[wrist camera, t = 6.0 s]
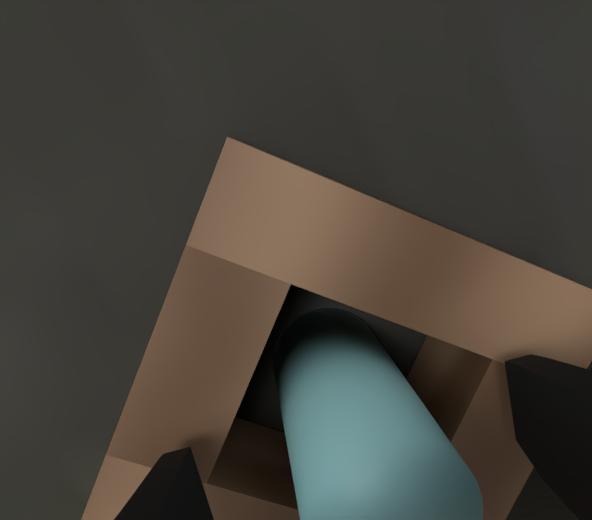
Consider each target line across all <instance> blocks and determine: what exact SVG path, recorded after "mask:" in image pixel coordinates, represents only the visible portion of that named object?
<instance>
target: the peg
mask: <svg viewBox="0 0 592 520" xmlns="http://www.w3.org/2000/svg"><path fill="white" fill-rule="evenodd" d="M273 369H274V374H275V380H276V386H277V391H278V397H279V403H280V408H281V414H282V419H283V425H284V431H285V436H286V442H287V448H288V453H289V459H290V465H291V470H292V476H293V482H294V487H295V493H296V499H297V504H298V510H299V516H300V520H483V500H482V495H481V491H480V488H479V485H478V483H477V480H476V479H475V477H474V475H473V474H472V472H471V470H470V469H469V468H468V466H467V465H466V463H465V462H464V461H463V459H462V458H461V456H460V455H459V454H458V452H457V451H456V449H455V448H454V446H453V445H452V444H451V442H450V441H449V439H448V438H447V437H446V435H445V434H444V432H443V431H442V429H441V428H440V427H439V425H438V424H437V422H436V421H435V420H434V418H433V417H432V415H431V414H430V413H429V411H428V410H427V408H426V407H425V405H424V404H423V403H422V401H421V400H420V398H419V397H418V396H417V394H416V393H415V391H414V390H413V388H412V387H411V386H410V384H409V383H408V381H407V380H406V379H405V377H404V376H403V374H402V373H401V372H400V370H399V369H398V367H397V366H396V364H395V363H394V362H393V360H392V359H391V357H390V356H389V355H388V353H387V352H386V350H385V349H384V347H383V346H382V345H381V343H380V342H379V340H378V339H377V338H376V336H375V335H374V333H373V332H372V331H371V329H370V328H369V327H368V325H367V324H366V323H365V322H364V321H363V320H362V319H360V318H359V317H357V316H356V315H354V314H352V313H350V312H347V311H344V310H340V309H333V308H325V309H318V310H313V311H310V312H307V313H305V314H303V315H301V316H300V317H298V318H296V319H295V320H294V321H292V322H291V323H290V324H289V325H288V326H287V327H286V328H285V329H284V331H283V332H282V334H281V335H280V337H279V339H278V341H277V343H276V346H275V349H274V353H273Z"/></svg>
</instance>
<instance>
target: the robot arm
mask: <svg viewBox="0 0 592 520" xmlns="http://www.w3.org/2000/svg"><path fill="white" fill-rule="evenodd" d="M504 362H505V369H506V375H507V382H508V389H509V396H510V403H511V410H512V417H513V424H514V431H515V438H516V441H517V442H518V444H519V445H520V447H521V448H522V450H523V451H524V453H525V454H526V456H527V457H528V459H529V460H530V462H531V463H532V465H533V466H534V467H535V469H536V470H537V472H538V473H539V474H540V476H541V477H542V478H543V479H544V481H545V482H546V483H547V484H548V485H549V486H550V487H551V488H552V490H553V491H554V492H555V493H556V494H557V495H558V496H559V497H560V498H561V500H562V501H563V502H564V503H565V504H566V505H567V506H568V507H569V508H570V510H571V511H572V512H573V513H574V514H575V515H576V516H577V517H578V518H579V519H580V520H592V370H588V369H585V368H582V367H578V366H575V365H571V364H568V363H564V362H561V361H557V360H554V359H550V358H546V357H542V356H537V355H532V354H529V355H526V356H522V357H518V358H515V359H511V360H507V361H504ZM114 520H214V519H213V516H212V512H211V509H210V506H209V503H208V500H207V497H206V494H205V491H204V487H203V484H202V481H201V478H200V475H199V472H198V469H197V466H196V462H195V459H194V456H193V453H192V450H191V447H187V448H183V449H179V450H176V451H172V452H168V453H165V454H163V455H162V456H161V457H160V458H159V459H158V461H157V462H156V463H155V465H154V466H153V467H152V469H151V470H150V472H149V473H148V474H147V476H146V477H145V479H144V480H143V481H142V483H141V484H140V485H139V487H138V488H137V490H136V491H135V492H134V494H133V495H132V496H131V498H130V499H129V500H128V502H127V503H126V504H125V506H124V507H123V508H122V510H121V511H120V512H119V514H118V515H117V516H116V518H115V519H114Z"/></svg>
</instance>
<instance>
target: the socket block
mask: <svg viewBox="0 0 592 520" xmlns="http://www.w3.org/2000/svg"><path fill="white" fill-rule="evenodd" d="M291 284H292V285H295V286H297V287H300V288H303V289H305V290H308V291H311V292H313V293H316V294H319V295H322V296H324V297H327V298H330V299H332V300H335V301H338V302H340V303H343V304H346V305H348V306H351V307H354V308H356V309H359V310H362V311H364V312H367V313H370V314H373V315H375V316H378V317H381V318H383V319H386V320H389V321H391V322H394V323H397V324H399V325H402V326H405V327H407V328H410V329H413V330H415V331H418V332H421V333H423V334H426V335H427V336H426V338H425V340H424V343H423V345H422V347H421V349H420V351H419V353H418V355H417V357H416V359H415V361H414V363H413V366H412V368H411V370H410V372H409V374H408V376H407V378H406V380H407V381H408V383H409V384H410V386H411V387H412V388H413V390H414V391H415V393H416V394H417V396H418V397H419V398H420V400H421V401H422V403H423V404H424V405H425V407H426V408H427V410H428V411H429V413H430V414H431V415H432V417H433V418H434V420H435V421H436V422H437V424H438V425H439V427H440V428H441V429H442V431H443V432H444V434H445V435H446V437H447V438H448V439H449V441H450V442H451V444H452V445H453V446H454V448H455V449H456V451H457V452H458V454H459V455H460V456H461V458H462V459H463V461H464V462H465V463H466V465H467V466H468V468H469V469H470V470H471V472H472V474H473V475H474V477H475V479H476V480H477V483H478V485H479V488H480V491H481V495H482V500H483V520H506V518H507V516H508V514H509V512H510V510H511V509H512V507H513V505H514V503H515V501H516V499H517V498H518V496H519V494H520V492H521V490H522V488H523V486H524V485H525V483H526V481H527V479H528V477H529V475H530V474H531V472H532V470H533V468H534V466H533V465H532V463H531V462H530V460H529V459H528V457H527V456H526V454H525V453H524V451H523V450H522V448H521V447H520V445H519V444H518V442H517V441H516V438H515V431H514V424H513V417H512V410H511V403H510V396H509V389H508V382H507V375H506V369H505V362H504V361H507V360H511V359H515V358H518V357H522V356H526V355H529V354H532V355H537V356H542V357H546V358H550V359H554V360H557V361H561V362H564V363H568V364H571V365H575V366H578V367H582V368H585V369H587V368H588V366H589V365H590V363H591V361H592V289H590V288H588V287H586V286H583V285H581V284H579V283H577V282H574V281H572V280H570V279H567V278H565V277H563V276H560V275H558V274H556V273H553V272H551V271H549V270H546V269H544V268H542V267H539V266H537V265H535V264H532V263H530V262H528V261H525V260H523V259H520V258H518V257H516V256H513V255H511V254H508V253H506V252H504V251H501V250H499V249H497V248H494V247H492V246H489V245H487V244H485V243H482V242H480V241H478V240H475V239H473V238H470V237H468V236H466V235H463V234H461V233H458V232H456V231H454V230H451V229H449V228H447V227H444V226H442V225H439V224H437V223H435V222H432V221H430V220H427V219H425V218H423V217H420V216H418V215H416V214H413V213H411V212H408V211H406V210H404V209H401V208H399V207H397V206H394V205H392V204H389V203H387V202H385V201H382V200H380V199H377V198H375V197H373V196H370V195H368V194H366V193H363V192H361V191H358V190H356V189H354V188H351V187H349V186H346V185H344V184H342V183H339V182H337V181H335V180H332V179H330V178H327V177H325V176H323V175H320V174H318V173H315V172H313V171H311V170H308V169H306V168H304V167H301V166H299V165H296V164H294V163H292V162H289V161H287V160H285V159H282V158H280V157H277V156H275V155H273V154H270V153H268V152H265V151H263V150H261V149H258V148H256V147H254V146H251V145H249V144H246V143H244V142H242V141H239V140H237V139H234V138H232V137H230V136H228V137H227V139H226V141H225V144H224V147H223V149H222V152H221V155H220V157H219V160H218V162H217V165H216V168H215V170H214V173H213V175H212V178H211V181H210V183H209V186H208V189H207V191H206V194H205V196H204V199H203V202H202V204H201V207H200V210H199V212H198V215H197V217H196V220H195V223H194V225H193V228H192V231H191V233H190V236H189V238H188V241H187V244H186V246H185V249H184V252H183V254H182V257H181V259H180V262H179V265H178V267H177V270H176V273H175V275H174V278H173V280H172V283H171V286H170V288H169V291H168V293H167V296H166V299H165V301H164V304H163V307H162V309H161V312H160V314H159V317H158V320H157V322H156V325H155V328H154V330H153V333H152V335H151V338H150V341H149V343H148V346H147V349H146V351H145V354H144V356H143V359H142V362H141V364H140V367H139V370H138V372H137V375H136V377H135V380H134V383H133V385H132V388H131V391H130V393H129V396H128V398H127V401H126V404H125V406H124V409H123V412H122V414H121V417H120V419H119V422H118V425H117V427H116V430H115V432H114V435H113V438H112V440H111V443H110V446H109V448H108V451H107V453H106V456H105V459H104V461H103V464H102V467H101V469H100V472H99V474H98V477H97V480H96V482H95V485H94V488H93V490H92V493H91V495H90V498H89V501H88V503H87V506H86V509H85V511H84V514H83V516H82V519H81V520H114V519H115V518H116V516H117V515H118V514H119V512H120V511H121V510H122V508H123V507H124V506H125V504H126V503H127V502H128V500H129V499H130V498H131V496H132V495H133V494H134V492H135V491H136V490H137V488H138V487H139V485H140V484H141V483H142V481H143V480H144V479H145V477H146V476H147V474H148V473H149V472H150V470H151V469H152V467H153V466H154V465H155V463H156V462H157V461H158V459H159V458H160V457H161V456H162V455H163V454H165V453H168V452H172V451H176V450H179V449H183V448H187V447H191V450H192V453H193V456H194V459H195V462H196V466H197V469H198V472H199V475H200V478H201V481H202V484H203V487H204V491H205V494H206V497H207V500H208V503H209V506H210V509H211V512H212V516H213V519H214V520H300V516H299V510H298V504H297V499H296V493H295V487H294V482H293V476H292V470H291V465H290V459H289V453H288V448H287V442H286V436H285V433H284V432H281V431H278V430H275V429H272V428H269V427H265V426H262V425H259V424H256V423H253V422H250V421H246V420H243V419H240V418H237V417H235V415H236V413H237V411H238V408H239V406H240V404H241V401H242V399H243V396H244V394H245V392H246V389H247V387H248V385H249V382H250V380H251V378H252V375H253V373H254V370H255V368H256V366H257V363H258V361H259V359H260V356H261V354H262V352H263V349H264V347H265V344H266V342H267V340H268V337H269V335H270V333H271V330H272V328H273V326H274V323H275V321H276V318H277V316H278V314H279V311H280V309H281V307H282V304H283V302H284V299H285V297H286V295H287V292H288V290H289V288H290V285H291Z"/></svg>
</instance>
